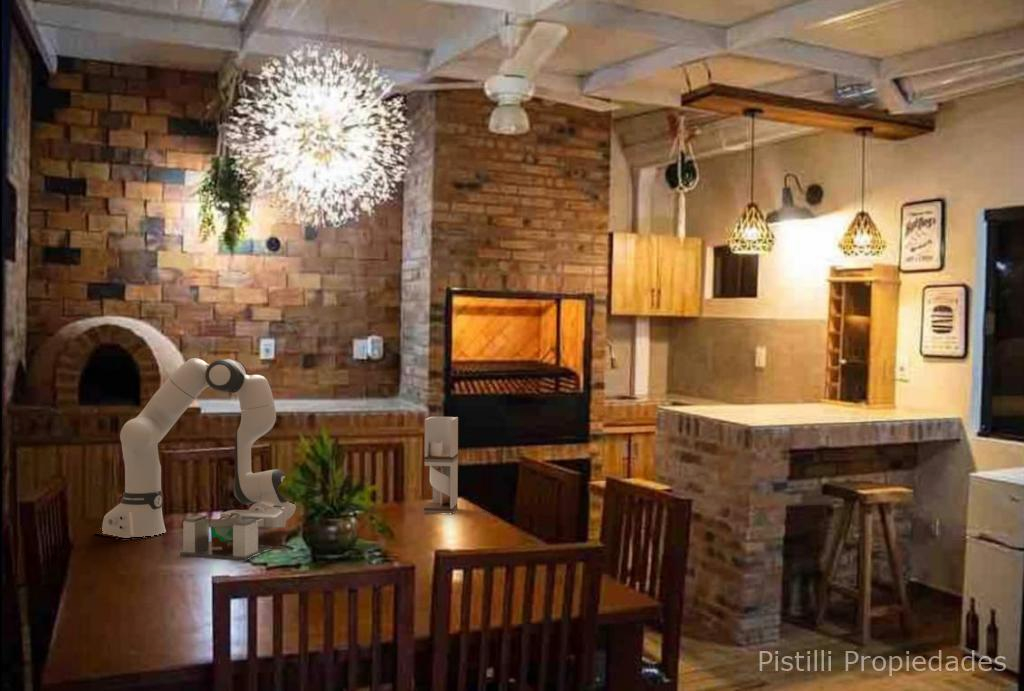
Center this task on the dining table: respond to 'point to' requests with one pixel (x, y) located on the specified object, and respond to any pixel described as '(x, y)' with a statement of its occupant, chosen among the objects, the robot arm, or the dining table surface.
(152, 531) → the robot arm
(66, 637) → the dining table surface
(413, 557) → the dining table surface
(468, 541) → the dining table surface
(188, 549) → the rail
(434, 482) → the white tiered stand
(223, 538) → the food container
